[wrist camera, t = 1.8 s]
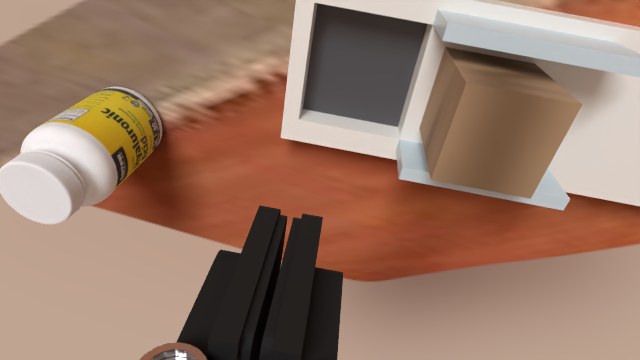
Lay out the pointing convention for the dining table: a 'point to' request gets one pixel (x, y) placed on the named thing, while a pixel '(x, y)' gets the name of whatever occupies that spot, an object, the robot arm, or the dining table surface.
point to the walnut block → (494, 122)
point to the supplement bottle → (81, 155)
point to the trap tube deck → (420, 71)
